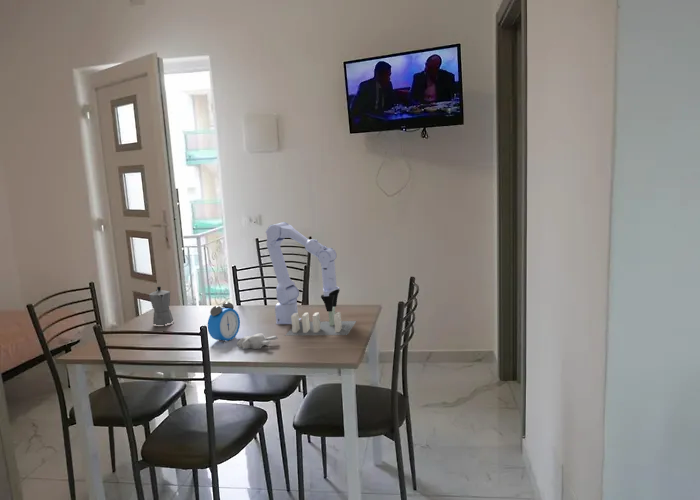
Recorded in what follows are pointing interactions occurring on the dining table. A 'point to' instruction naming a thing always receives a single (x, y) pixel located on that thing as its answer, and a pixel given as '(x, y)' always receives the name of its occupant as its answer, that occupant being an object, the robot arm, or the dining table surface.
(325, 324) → the mat
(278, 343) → the dining table surface
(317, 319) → the domino
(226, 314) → the alarm clock
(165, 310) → the coffeepot
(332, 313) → the domino
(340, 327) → the white flat block
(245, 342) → the bunny figurine
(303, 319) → the domino
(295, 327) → the domino
